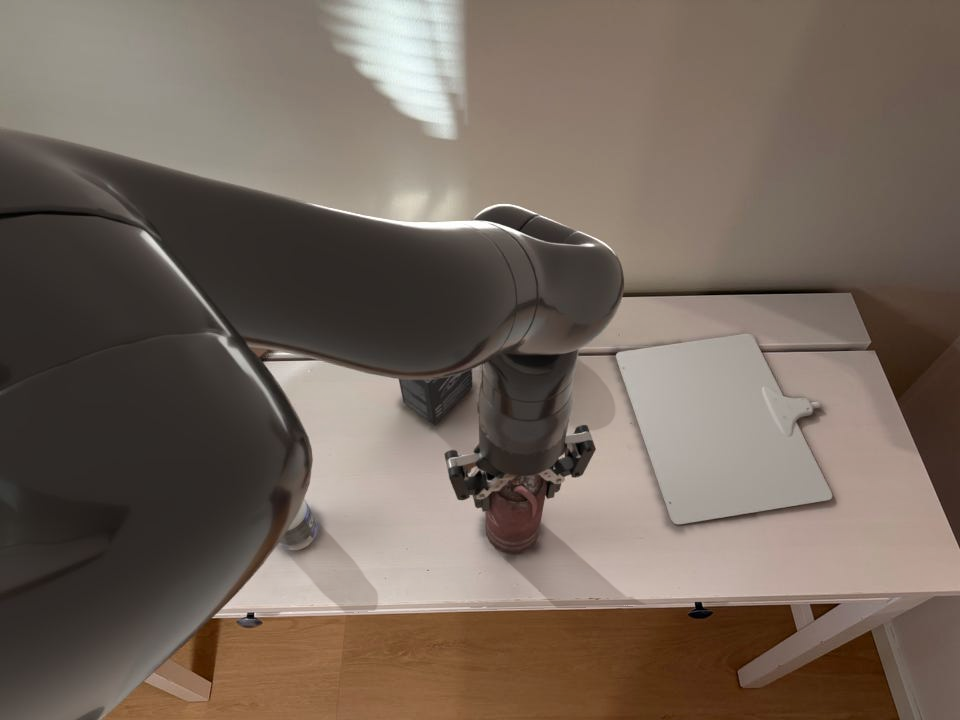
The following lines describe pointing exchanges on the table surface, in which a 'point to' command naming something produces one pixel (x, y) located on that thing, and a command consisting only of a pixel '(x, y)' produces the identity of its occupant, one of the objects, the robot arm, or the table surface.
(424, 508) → the table surface
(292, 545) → the pill bottle
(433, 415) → the box
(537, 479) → the can
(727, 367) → the clipboard
